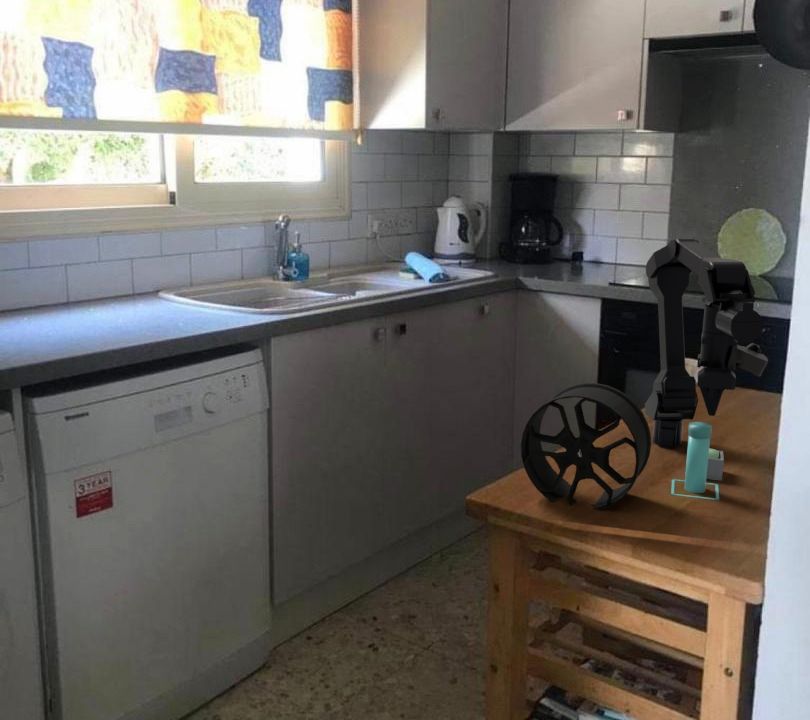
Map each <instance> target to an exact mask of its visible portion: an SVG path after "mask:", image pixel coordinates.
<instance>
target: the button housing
mask: <svg viewBox="0 0 810 720" xmlns="http://www.w3.org/2000/svg"><path fill="white" fill-rule="evenodd" d="M718 451H719V458H718V459H714V458H708V467H707V478H706V480H713V481H723V475H724V474H723V473H724V472H723V471H724V464H725V463H724V462H725V461H724V458H725V457H724V451H723V450H718Z"/></svg>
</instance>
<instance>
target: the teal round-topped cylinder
mask: <svg viewBox="0 0 810 720" xmlns="http://www.w3.org/2000/svg"><path fill="white" fill-rule="evenodd" d="M712 428H713V426H712V425H711V424H710V423H707V422H701V421H695V422H694V421H692V422H689V423H688V439H687V450H686V451H687V452H686V463H685V475H684V480H685V482H684V486H683V489H684V490H685V491H686V492H688V493H691V494H703V493H705V492H706V490H707V489H706V486H707V484H706V483H707V479H706V478H707V467H708V456H709V448H710V443H711V437H712V431H713V429H712Z"/></svg>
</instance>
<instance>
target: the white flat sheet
mask: <svg viewBox="0 0 810 720" xmlns="http://www.w3.org/2000/svg"><path fill="white" fill-rule="evenodd" d="M676 482H684V483H685V479H684V480H683V479H675V478H672V479H671V489H670V491H671V492H670V495H671V496H680V497H687V498H696V499H704V500H714V501H720V494H719V492H720V491H719V484H718V483H711V482H706V485H712V486H714V488H715V498H714V497H707V496H706V497H704V496H697V495H688V494H681V493H680V494H679V493H675V483H676Z"/></svg>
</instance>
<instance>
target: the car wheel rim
mask: <svg viewBox="0 0 810 720" xmlns="http://www.w3.org/2000/svg"><path fill="white" fill-rule="evenodd" d="M570 398H579V399H580V400H579V401H578V402H577V403H576V404H575V405H574V406H573V407H574V409H573V410H574V413H575V416H576V417H575V418H576V421H577V426H578V432H579V436H578V437H576V436H575V435H574V433H573V431H572V430H571V427H570V423H569V420H568V417H567V414H566V411H565V406H564V405H563V404H560V403H558V402H556V401H558V400H564V399H570ZM585 402H590V403H592V404H593V403H594V404H598V405H599V406H601V407H603V408H605V409H606V410H608V411H609V412H611V413H612V414H613V415H614V417H615V421H614V422H613V423H612V424H610V425H608V426H606V427H605V428H603V429H599V430H598V429H596V428H595V427H594V428H593V427H591V426H590V425H589V424H587V423H586V420H585V415H584V411H583V406H582V404H583V403H585ZM550 406H551V407H552V408H553V407H554V408H557V409H558V411H559V413H560V417H561V420H562V424H563V428H562V429H561V431H560V432H558V433H557V434H555V435H547V434H543V433H541V425H542V421H543V418H544V415H545V414H546V412H547V410H548V408H549V407H550ZM645 416H646V415H645V414H644V412H643V410H642V409H641V408H640V407H639V406H638V405H637V403H636V402H635V401H634V400H633V399H632V398H631V397H630V396H629V395H626V393H624V392H622V391H621V390H619V389H618V388H615V387H612V386H610V385H608V384H601V383H597V382H596V383H595V382H585V383H577V384H574V385H572V386H569V387H566V388H565V389H563V390H562V391H560V392H559V393H557V394H556V395H555V396H553V397H552V398H551V399H550V400H549V401H547V402H545V403H544V404H542V405H541V406H540V407H539V408H538V409H537V410H536V411H535V412H534V413H532V415H531V417H530V418H529V420H528V421H527V423H526V425H525V427H524V429H523V432H522V435H521V436H522V437H521V443H520V453H521V456H520V457H521V460H522V464H523V468H524V471H525V473H526V475H527V477H528V479H529V481H530V482H531V483H532V484H533V485H534V487H535V489H536V490H537V491H538V492H539V493H540V494H542V496H543V497H544V498H545V499H547V500H549V501H550V502H552V503H556V502H557V501H558V499H564V498H565V497H566V500H567V502H568V504H569V506H573V504H576V503H577V501H576V499H575V494H576V491H577V488H578V485H579V482H580V481H583V480H590V479H591V480H593V481H595V482H596V484H597V485H598V486H600V487H601V488H602V489H603V490H604V492H603V493H602V495H601V496H600V497H599V499H598V500H597V501H596V503H595V504H590V506H591V507H592V508H591V509H592V510H596V511H603V510H605V509H608V508H610V507H612V506H614V505H615V504H617V503H618V502H620V501H622V499H624V497H625V496H626V495H627V494H628V493H629V491H631V489H632V488H633V486H634V484H635V483H636V481H637V479H638V478H639V476H640V475H641V473H642V472H643V471H644V469H645V468H646V466H647V463H648V460H649V458H650V455H651V451H652V450H651V448H652V436H651V430H650V425H649V423H648V421H647V419H646V417H645ZM620 420H622V421H623V423H624V424H625V425H626V427H627V428H628V431H629V433H630V434H631V436H632V438H633V439H630V438H629V437H627V436H625V437H623V438H620V439H619V440H616V441H614V442H612V443H610V444H608V445H606V446H604V447H602V446H595V445H594V443H595V442H596V440H598V439H599V438H601V437H603V436H605V435H606V434H608V433H609V432H612V431H613V430H615V429H617V428H618V427H619V426H620V422H621V421H620ZM542 443H548V444H552V445H558V446H560V447H562V448H563V449H565V451H560V452H556V451H555V452H554V451H547V450H546V451H545V450H544V449H543V448H542V446H543V445H542ZM624 444H627V445H629V446H630V447H631V448H632V449H633V450H634V453H635V465H634V466H635V467H634V473H633V475H632V476H629V477H627V478H626V477H624V476H622V475H621V474H620V473H619V472H618V471H616V469H614V468H613V467H612V466H611V465H610V454H611V450H614V449H615V448H617V447H620V446H621V445H624ZM547 457H550V458H551V459H553V460H554V462H555V464H556V465H557V467H558V469H559V473H558V472H557V471H556V470H555V469H554V468H553V467H552V466H551V464H550V462H549V461H548V460H547ZM592 463H593V464H595V465H596V466H597V467H599V468H600V469H601V470H602V472H604V473H606V474H607V475H608V476H609V477H611V479H612V480H614V481H615V482H616V483H617V484H618V485H622V486H620V487H618V488H614V489H613V488H611V487H612V486H609V484H607V483H606V481H605V480H603V479H602V478H601V477H600V475H598V474H597V473H596V472H595V470H594V468H593V464H592ZM571 466H575V473H574V478H573V481H572V484H570V483H569V482H568V481H567V480H566V479H564V476H565V473H566V471H567V469H568V468H570V467H571Z"/></svg>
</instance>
